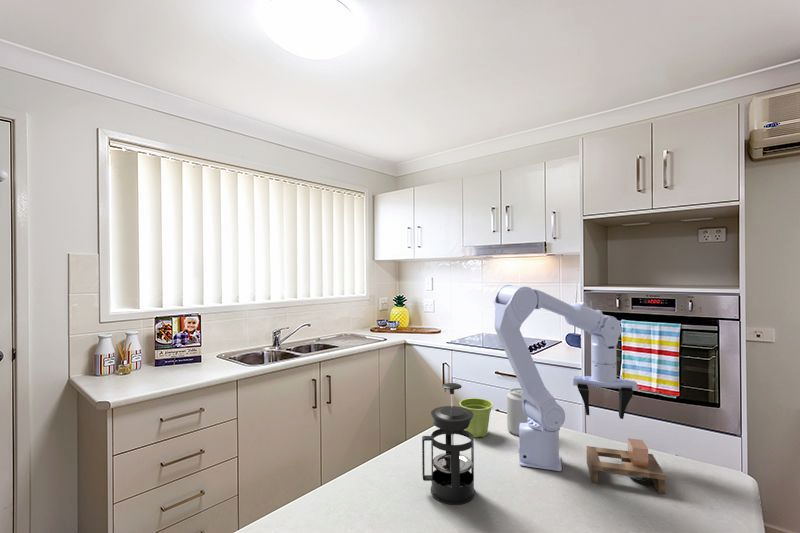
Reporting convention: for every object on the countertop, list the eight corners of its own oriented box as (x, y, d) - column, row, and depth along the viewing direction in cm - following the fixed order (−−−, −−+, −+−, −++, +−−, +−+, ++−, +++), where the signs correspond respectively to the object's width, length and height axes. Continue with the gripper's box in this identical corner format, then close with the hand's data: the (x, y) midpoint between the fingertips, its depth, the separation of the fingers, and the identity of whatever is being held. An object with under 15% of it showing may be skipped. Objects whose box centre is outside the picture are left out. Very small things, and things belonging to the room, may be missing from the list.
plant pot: (485, 443, 110) (485, 411, 110) (454, 435, 115) (454, 405, 115) (497, 431, 118) (497, 401, 118) (467, 424, 123) (467, 396, 123)
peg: (630, 479, 89) (629, 447, 89) (625, 469, 94) (625, 438, 94) (651, 482, 88) (650, 449, 88) (645, 471, 93) (645, 440, 93)
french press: (473, 480, 91) (472, 377, 91) (482, 504, 82) (481, 390, 82) (421, 480, 91) (420, 378, 91) (424, 505, 82) (423, 391, 82)
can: (535, 438, 113) (535, 395, 113) (507, 436, 114) (507, 393, 114) (532, 427, 120) (532, 387, 120) (506, 425, 122) (506, 385, 122)
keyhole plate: (591, 483, 89) (591, 465, 89) (586, 462, 99) (586, 445, 99) (665, 494, 85) (665, 475, 85) (652, 471, 94) (652, 454, 94)
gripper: (632, 360, 104) (633, 413, 104) (571, 356, 109) (572, 407, 109) (638, 367, 97) (639, 423, 97) (573, 362, 102) (573, 416, 102)
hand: (604, 415), depth 103 cm, fingers open, 7 cm apart
